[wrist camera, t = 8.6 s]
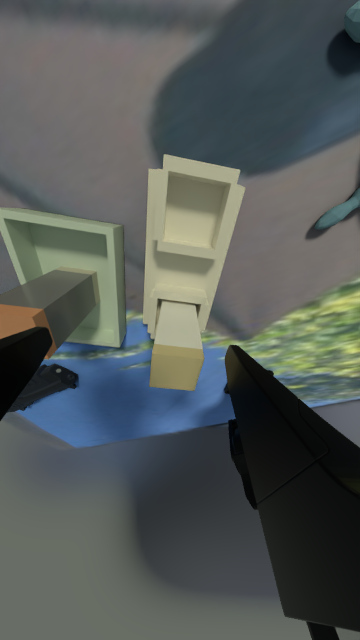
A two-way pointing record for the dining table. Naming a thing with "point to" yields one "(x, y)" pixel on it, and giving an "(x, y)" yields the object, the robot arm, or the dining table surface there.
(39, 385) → the handgun
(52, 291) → the block
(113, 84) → the dining table surface
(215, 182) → the fuse block
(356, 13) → the decorative ship wheel
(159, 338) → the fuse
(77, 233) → the tray
